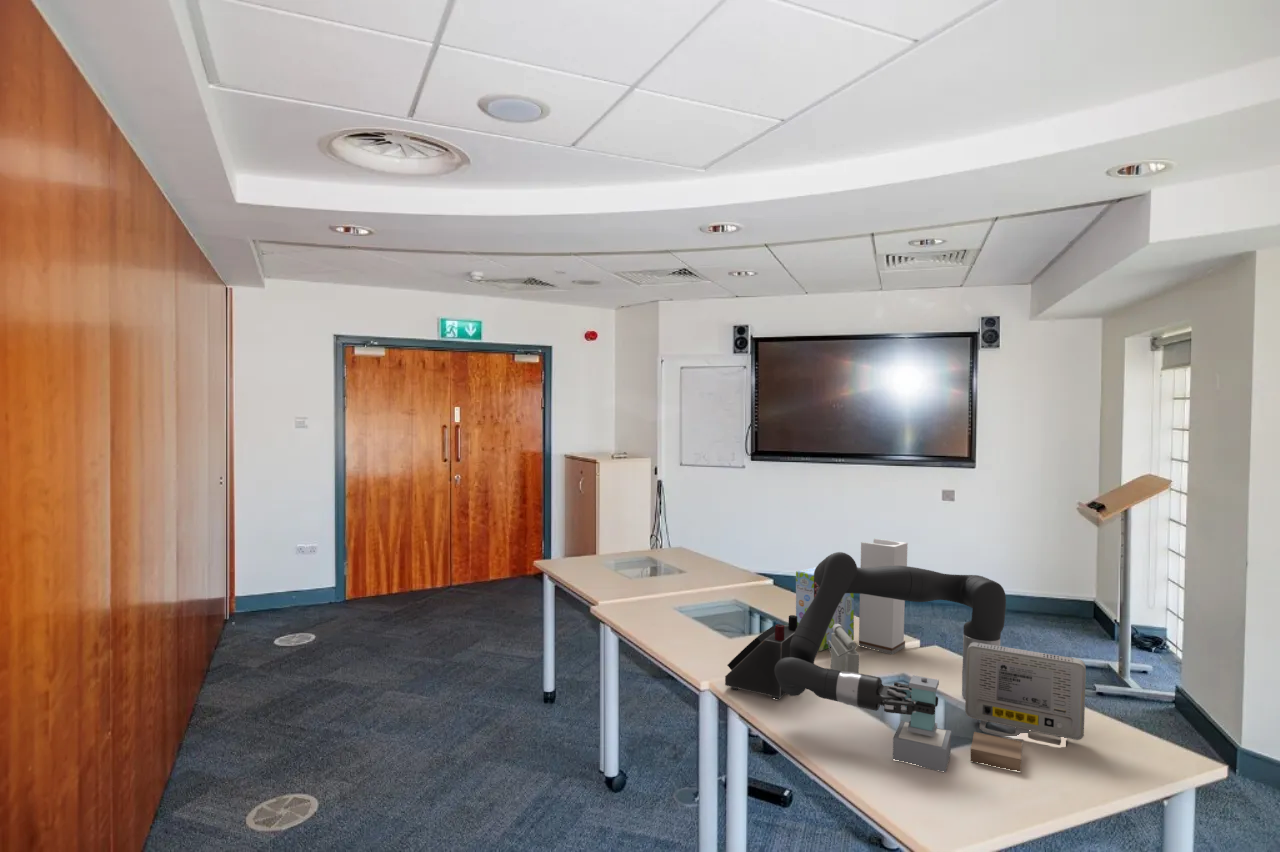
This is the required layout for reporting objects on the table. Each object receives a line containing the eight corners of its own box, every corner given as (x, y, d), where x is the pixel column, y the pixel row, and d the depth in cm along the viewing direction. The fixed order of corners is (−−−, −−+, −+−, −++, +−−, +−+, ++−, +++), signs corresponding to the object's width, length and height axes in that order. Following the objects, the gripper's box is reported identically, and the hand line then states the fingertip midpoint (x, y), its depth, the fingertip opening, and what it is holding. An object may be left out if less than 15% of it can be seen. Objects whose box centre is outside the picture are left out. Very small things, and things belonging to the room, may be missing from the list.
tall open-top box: (904, 647, 243) (907, 542, 243) (891, 654, 236) (894, 546, 235) (872, 639, 251) (874, 538, 250) (858, 646, 243) (861, 542, 242)
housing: (911, 721, 169) (913, 672, 169) (937, 727, 166) (938, 677, 166) (907, 731, 164) (909, 680, 164) (934, 736, 162) (935, 685, 161)
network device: (1083, 739, 176) (1085, 657, 175) (1083, 753, 168) (1086, 668, 168) (967, 715, 189) (969, 638, 188) (963, 727, 181) (965, 648, 181)
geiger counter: (863, 643, 202) (840, 618, 227) (840, 642, 202) (820, 617, 227) (862, 693, 202) (839, 662, 227) (839, 692, 203) (819, 661, 228)
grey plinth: (900, 741, 173) (901, 719, 173) (950, 752, 168) (951, 729, 167) (892, 760, 163) (893, 737, 163) (945, 772, 158) (946, 749, 158)
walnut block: (973, 744, 172) (974, 731, 172) (1021, 754, 167) (1021, 741, 167) (970, 761, 163) (970, 748, 163) (1020, 773, 158) (1021, 759, 158)
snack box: (833, 635, 255) (835, 562, 255) (854, 641, 248) (856, 566, 248) (793, 646, 242) (794, 569, 241) (814, 653, 235) (816, 574, 234)
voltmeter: (746, 672, 217) (747, 606, 216) (799, 684, 208) (801, 614, 208) (724, 690, 203) (725, 619, 203) (780, 703, 195) (781, 628, 194)
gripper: (852, 684, 166) (933, 700, 157) (865, 665, 178) (940, 679, 170) (851, 716, 166) (931, 734, 158) (864, 695, 178) (939, 710, 170)
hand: (936, 705), depth 164 cm, fingers closed on housing, 4 cm apart
